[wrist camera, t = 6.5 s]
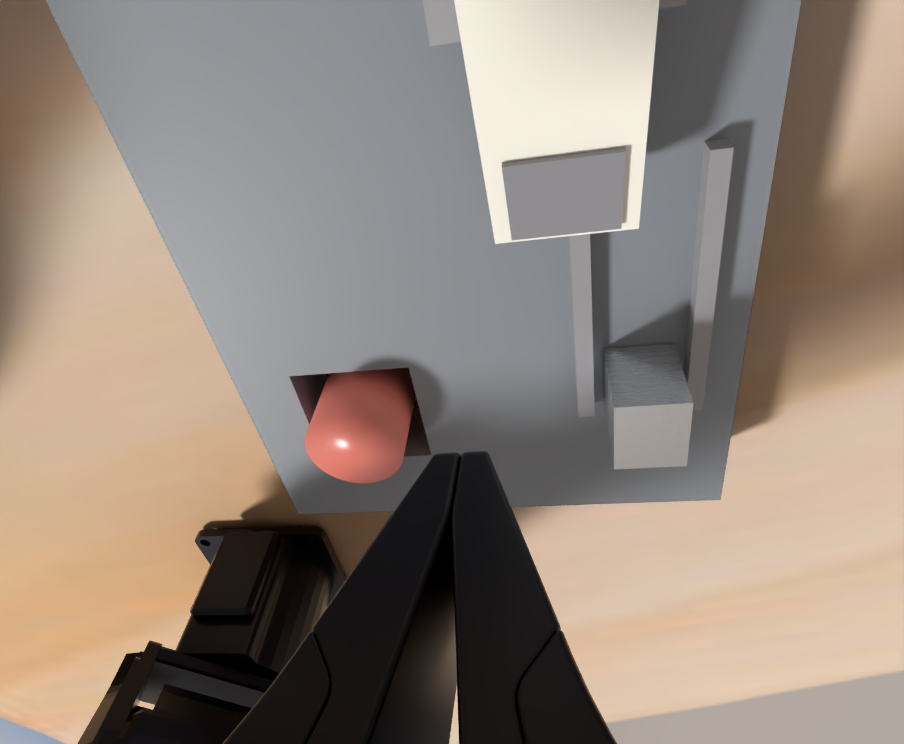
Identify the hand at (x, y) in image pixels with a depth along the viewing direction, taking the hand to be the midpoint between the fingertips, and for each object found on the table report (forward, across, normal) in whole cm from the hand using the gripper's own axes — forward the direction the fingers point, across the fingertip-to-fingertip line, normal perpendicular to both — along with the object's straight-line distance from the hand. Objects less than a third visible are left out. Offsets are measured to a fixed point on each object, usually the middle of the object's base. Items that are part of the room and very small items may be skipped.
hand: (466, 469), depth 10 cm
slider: (+8, -4, +5) cm, 11 cm away
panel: (+11, +1, 0) cm, 11 cm away
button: (+11, +5, +6) cm, 14 cm away
